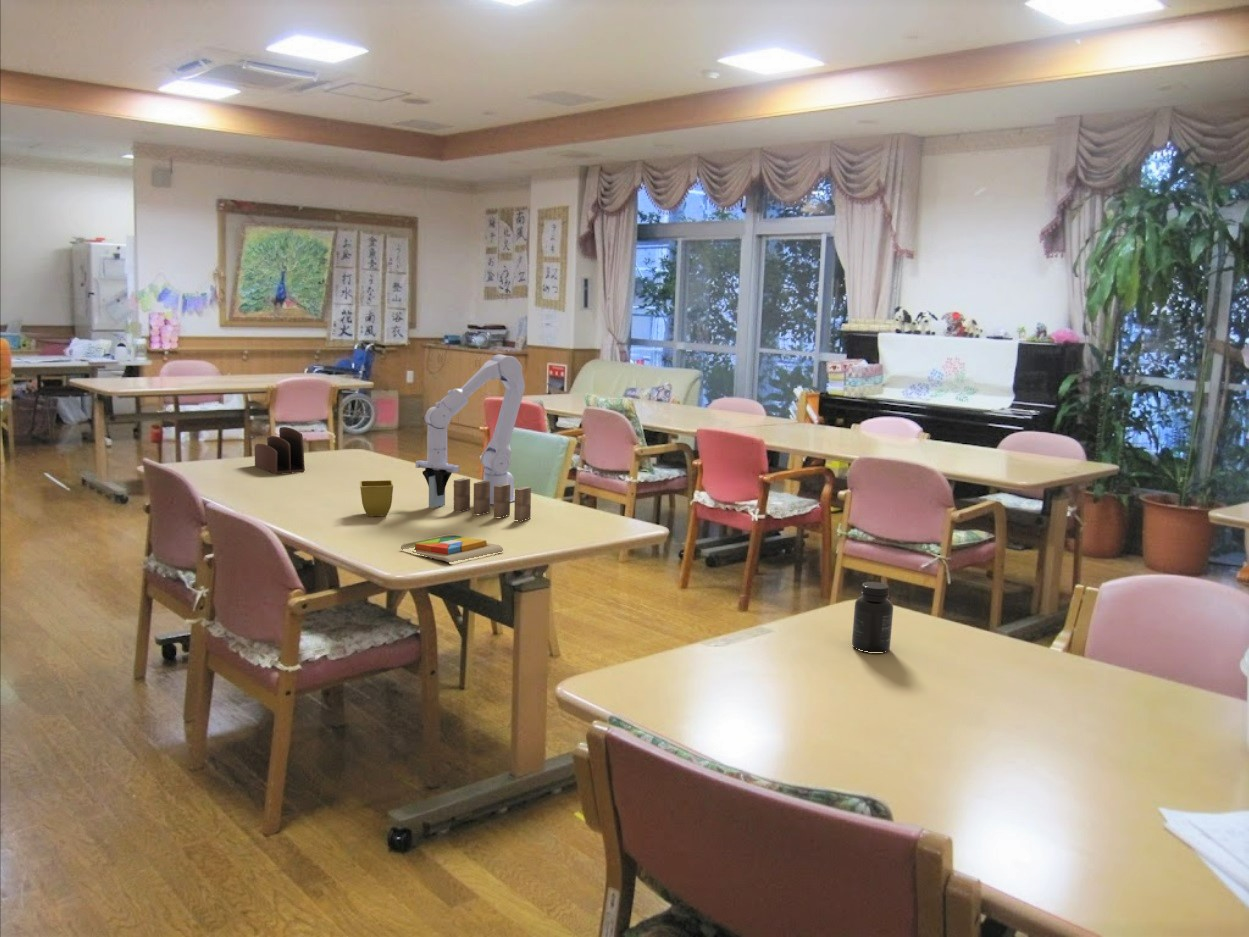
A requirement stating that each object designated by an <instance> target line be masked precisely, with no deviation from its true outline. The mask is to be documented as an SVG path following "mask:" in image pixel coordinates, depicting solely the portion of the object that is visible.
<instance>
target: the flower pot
mask: <svg viewBox="0 0 1249 937" xmlns="http://www.w3.org/2000/svg"><path fill="white" fill-rule="evenodd" d="M359 486H360V487H359V489H360V496H361V503H362V506H363V510H364V512H365V513H366V516H367V517H386V516H388V513H389V512H390V510H391V506H392V502H393V493H394V492H393V490H394V484H393V480H390V479H389V480H388V479H386V480H382V479H381V480H380V479H379V480H360V481H359Z"/></svg>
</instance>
